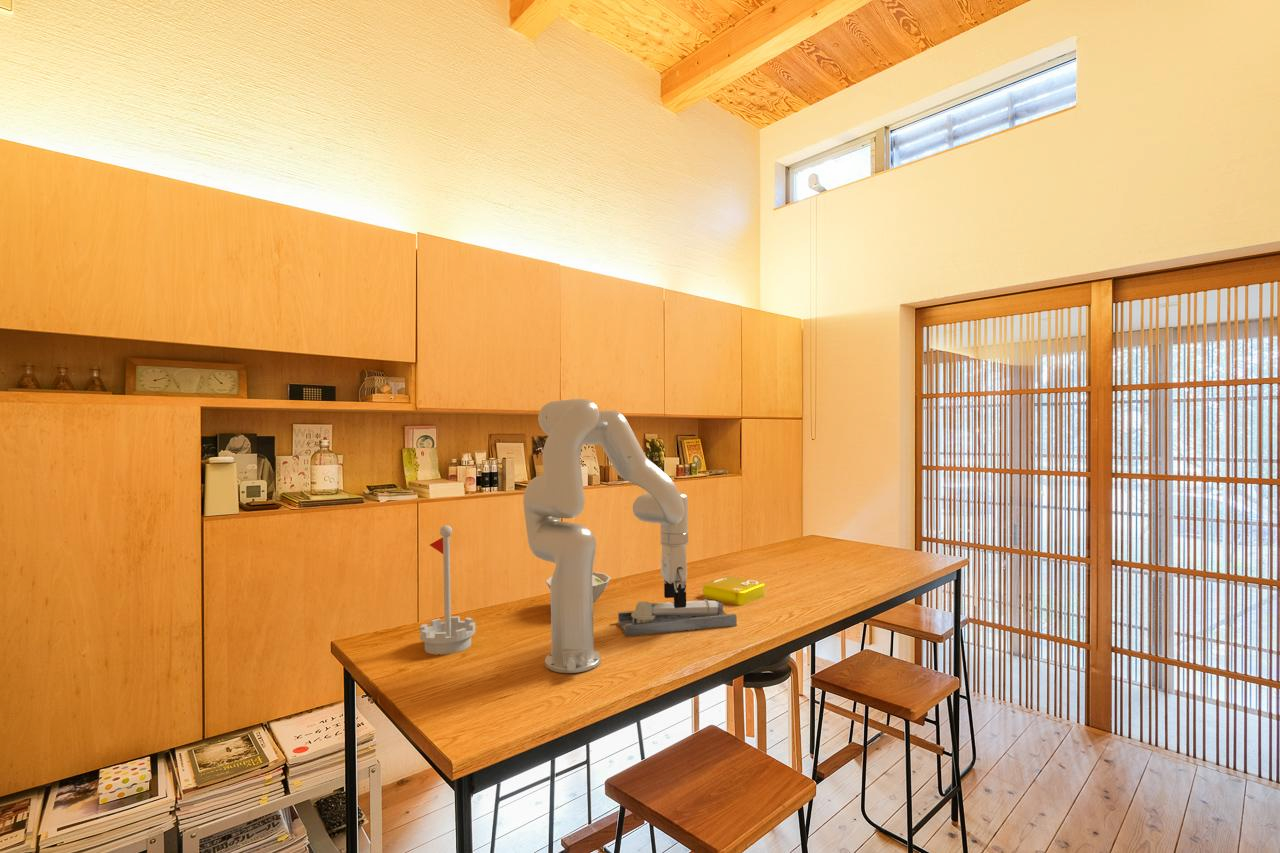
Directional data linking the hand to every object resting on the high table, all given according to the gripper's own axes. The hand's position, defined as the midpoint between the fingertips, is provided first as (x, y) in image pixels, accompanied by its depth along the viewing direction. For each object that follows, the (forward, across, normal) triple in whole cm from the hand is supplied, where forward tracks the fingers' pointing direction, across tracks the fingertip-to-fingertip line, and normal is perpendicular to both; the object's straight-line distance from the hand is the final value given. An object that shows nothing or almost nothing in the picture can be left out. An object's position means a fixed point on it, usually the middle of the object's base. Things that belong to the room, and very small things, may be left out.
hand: (674, 602), depth 158 cm
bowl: (+6, -21, -24) cm, 32 cm away
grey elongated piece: (+5, 0, 0) cm, 5 cm away
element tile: (+6, -21, +25) cm, 33 cm away
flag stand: (+7, 0, -58) cm, 59 cm away
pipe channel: (+6, 0, 0) cm, 6 cm away
